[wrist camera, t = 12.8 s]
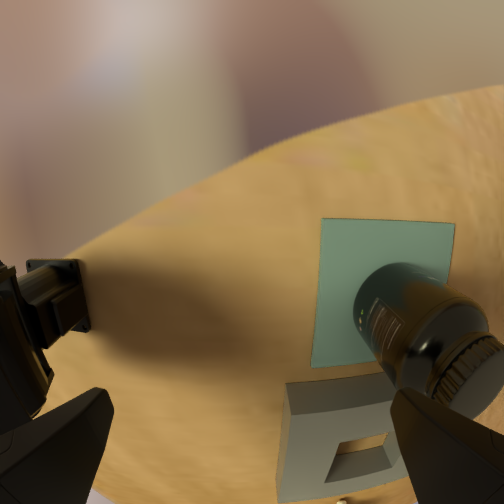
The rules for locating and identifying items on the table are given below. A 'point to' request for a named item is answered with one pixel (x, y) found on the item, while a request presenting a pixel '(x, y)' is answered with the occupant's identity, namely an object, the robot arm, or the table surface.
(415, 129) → the table surface
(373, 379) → the pocket holder
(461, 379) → the supplement bottle
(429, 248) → the mat
